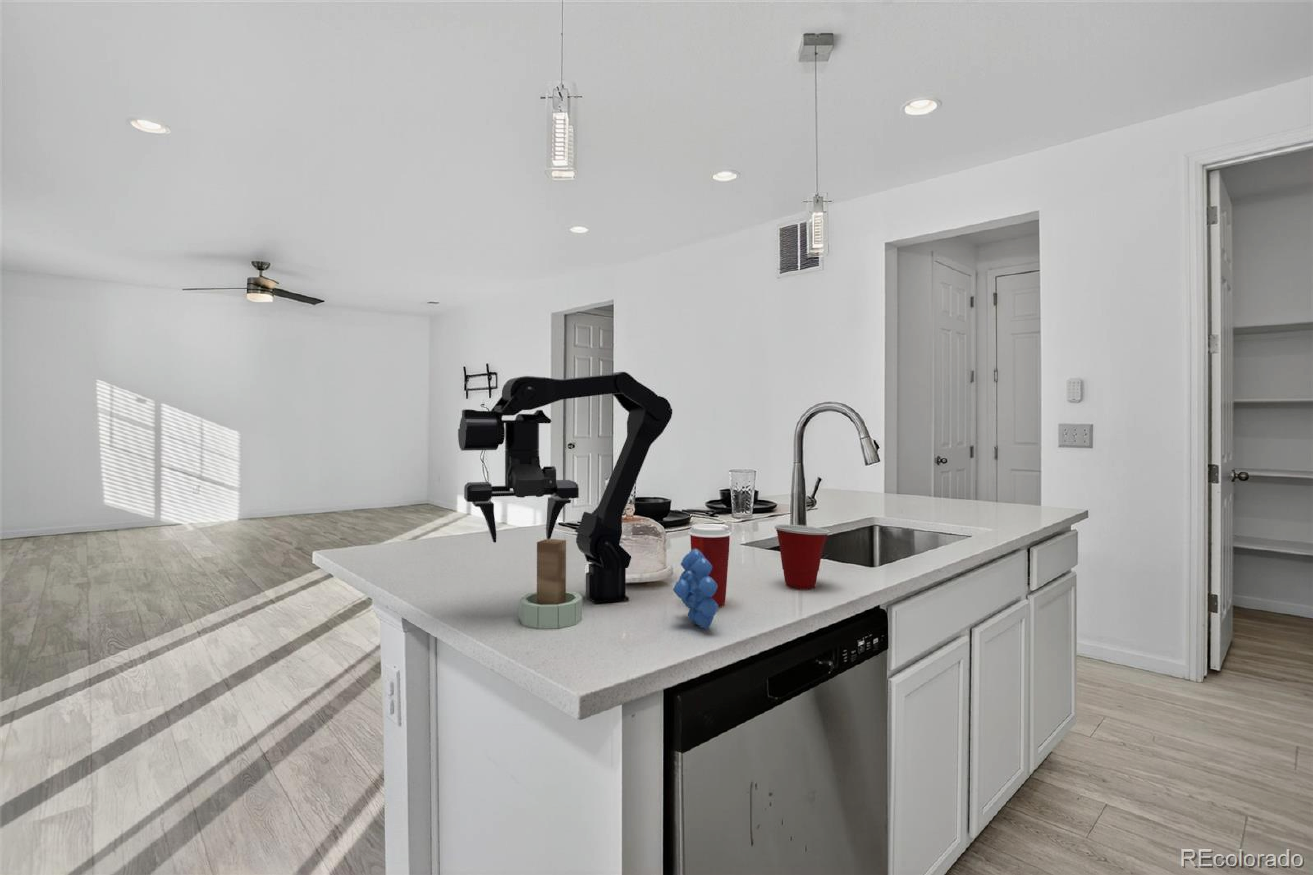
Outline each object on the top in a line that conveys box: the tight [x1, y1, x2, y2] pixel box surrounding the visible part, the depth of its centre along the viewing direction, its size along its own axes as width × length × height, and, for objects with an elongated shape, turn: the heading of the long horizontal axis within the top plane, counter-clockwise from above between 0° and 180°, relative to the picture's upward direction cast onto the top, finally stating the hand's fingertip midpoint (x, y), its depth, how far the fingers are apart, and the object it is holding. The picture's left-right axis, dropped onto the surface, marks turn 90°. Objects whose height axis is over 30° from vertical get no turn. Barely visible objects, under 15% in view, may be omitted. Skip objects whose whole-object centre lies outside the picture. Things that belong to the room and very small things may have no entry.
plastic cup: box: [774, 523, 830, 591], centre depth 130 cm, size 11×11×12 cm
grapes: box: [672, 549, 719, 629], centre depth 105 cm, size 12×7×12 cm, turn 19°
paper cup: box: [687, 523, 733, 609], centre depth 117 cm, size 8×8×14 cm
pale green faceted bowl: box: [518, 590, 583, 630], centre depth 108 cm, size 10×10×4 cm
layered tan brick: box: [536, 538, 567, 605], centre depth 108 cm, size 4×4×12 cm
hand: (521, 540), depth 113 cm, fingers open, 9 cm apart
